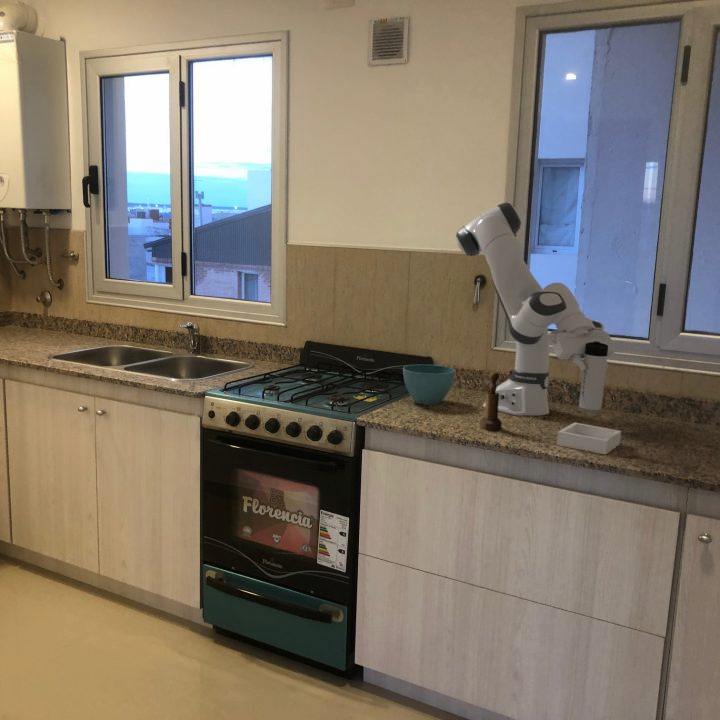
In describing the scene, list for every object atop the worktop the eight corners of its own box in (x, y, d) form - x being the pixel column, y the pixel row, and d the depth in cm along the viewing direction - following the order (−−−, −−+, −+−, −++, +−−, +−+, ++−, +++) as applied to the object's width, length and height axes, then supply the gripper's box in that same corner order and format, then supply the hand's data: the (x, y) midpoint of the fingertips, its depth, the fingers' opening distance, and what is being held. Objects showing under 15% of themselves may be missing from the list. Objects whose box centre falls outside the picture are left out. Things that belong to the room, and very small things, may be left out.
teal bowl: (390, 401, 262) (392, 367, 260) (425, 394, 274) (427, 362, 272) (428, 411, 249) (430, 375, 247) (463, 404, 261) (465, 370, 259)
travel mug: (600, 409, 217) (608, 342, 213) (601, 414, 211) (609, 345, 207) (578, 407, 218) (585, 340, 215) (578, 412, 212) (586, 343, 209)
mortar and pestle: (475, 427, 231) (479, 370, 228) (487, 424, 235) (491, 368, 232) (493, 431, 226) (497, 374, 223) (505, 428, 231) (509, 371, 228)
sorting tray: (556, 444, 215) (558, 431, 214) (573, 435, 226) (574, 422, 225) (605, 454, 207) (606, 440, 206) (619, 444, 218) (621, 431, 217)
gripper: (553, 324, 212) (573, 364, 205) (606, 323, 221) (628, 361, 214) (541, 337, 216) (561, 376, 210) (594, 335, 225) (614, 373, 219)
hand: (595, 369), depth 212 cm, fingers closed on travel mug, 6 cm apart
